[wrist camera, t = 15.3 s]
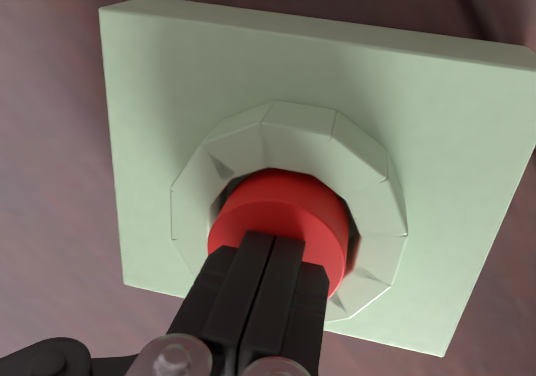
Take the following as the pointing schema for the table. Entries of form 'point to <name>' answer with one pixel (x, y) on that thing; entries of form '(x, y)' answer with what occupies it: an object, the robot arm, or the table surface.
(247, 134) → the stop block
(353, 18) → the table surface
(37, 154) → the table surface
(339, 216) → the stop button
